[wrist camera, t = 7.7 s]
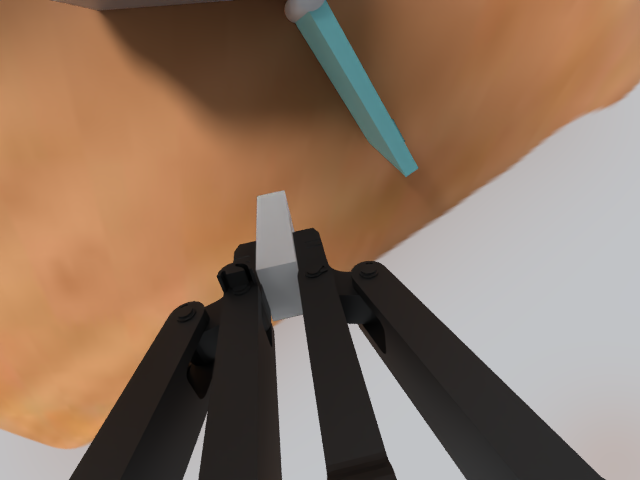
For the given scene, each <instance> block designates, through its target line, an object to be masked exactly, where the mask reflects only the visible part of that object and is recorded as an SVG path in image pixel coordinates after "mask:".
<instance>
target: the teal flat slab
mask: <svg viewBox="0 0 640 480" xmlns="http://www.w3.org/2000/svg"><path fill="white" fill-rule="evenodd" d="M285 15H286V17H287V18H288V20H289V21H291V22H293V23H295V24H296V25H297V27H298V29H299V30H300V32H301V33H302V35H303V37H304V38H305V40H306V42H307V43H308V45H309V46H310V48H311V50H312V51H313V53H314V55H315V56H316V58H317V59H318V61H319V63H320V64H321V66H322V67H323V69H324V71H325V72H326V74H327V76H328V77H329V79H330V80H331V82H332V84H333V85H334V87H335V89H336V90H337V92H338V93H339V95H340V97H341V98H342V100H343V101H344V103H345V105H346V106H347V108H348V110H349V111H350V113H351V114H352V116H353V118H354V119H355V121H356V123H357V124H358V126H359V127H360V129H361V131H362V132H363V134H364V135H365V137H366V139H367V140H368V142H369V143H370V144H371V145H372V146H373V147H374V148H375V149H376V150H377V151H379V152H380V153H381V154H382V155H383V156H384V157H385V158H386V159H387V160H388V161H389V162H390V163H391V164H393V165H394V166H395V167H396V168H397V169H398V170H399V171H400V172H401V173H402V174H403V175H404V176H405V177H407V176H408V175H410V174H411V173H412V172H414V171H415V170H417V169H418V166H417V165H416V163H415V161H414V159H413V157H412V155H411V154H410V152H409V150H408V148H407V146H406V145H405V143H404V142H405V140H404V138H403V137H402V135H401V133H400V131H399V129H398V128H397V126H396V124H395V122H394V120H393V119H391V117H390V116H389V114H388V112H387V110H386V108H385V107H384V105H383V103H382V101H381V99H380V97H379V96H378V94H377V92H376V90H375V88H374V87H373V85H372V83H371V81H370V79H369V78H368V76H367V74H366V72H365V70H364V68H363V67H362V65H361V63H360V61H359V59H358V58H357V56H356V54H355V52H354V50H353V49H352V47H351V45H350V43H349V41H348V39H347V38H346V36H345V34H344V32H343V30H342V29H341V27H340V25H339V23H338V21H337V20H336V18H335V16H334V14H333V12H332V10H331V9H330V7H329V5H328V3H327V1H326V0H287V2H286V4H285Z"/></svg>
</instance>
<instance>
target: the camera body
mask: <svg viewBox="0 0 640 480" xmlns="http://www.w3.org/2000/svg"><path fill="white" fill-rule="evenodd" d="M52 1H57V2H61V3H66V4H70V5H75V6H80V7H84V8H89V9H93V10H98V11H99V10H112V9H125V8H139V7H152V6H165V5H179V4H192V3H205V2H219V1H232V0H52Z"/></svg>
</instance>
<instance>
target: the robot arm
mask: <svg viewBox="0 0 640 480" xmlns="http://www.w3.org/2000/svg"><path fill="white" fill-rule="evenodd" d="M217 278H218V281H219V283H220V285H221V287H222V290H223V292H224V296H223V297H222V298H221V299H220V300H218V301H216V302H214V303H212V304H210V305H208V306H206V307H204V305H203V304H202V303H200V302H195V301H193V302H188V303H185V304H183V305H180V306H179V307H178V308H176V309H175V310H174V311H173V312H172V313H171V314H170V315H169V317H168V319H167V320H166V322H165V324H164V325H163V327H162V328H161V330H160V332H159V333H158V335H157V337H156V338H155V340H154V342H153V343H152V345H151V346H150V348H149V350H148V351H147V353H146V355H145V356H144V358H143V360H142V361H141V363H140V364H139V366H138V368H137V369H136V371H135V373H134V374H133V376H132V378H131V379H130V381H129V382H128V384H127V386H126V387H125V389H124V391H123V392H122V394H121V396H120V397H119V399H118V400H117V402H116V404H115V405H114V407H113V409H112V410H111V412H110V414H109V415H108V417H107V418H106V420H105V422H104V423H103V425H102V427H101V428H100V430H99V432H98V433H97V435H96V436H95V438H94V440H93V441H92V443H91V445H90V446H89V448H88V450H87V451H86V453H85V454H84V456H83V458H82V459H81V461H80V463H79V464H78V466H77V468H76V469H75V471H74V472H73V474H72V476H71V477H70V479H69V480H183V477H184V474H185V472H186V469H187V466H188V463H189V461H190V458H191V455H192V452H193V450H194V447H195V444H196V442H197V438H198V436H199V433H200V431H201V428H202V425H203V422H204V420H205V417H206V414H207V411H208V414H207V422H206V428H205V436H204V443H203V450H202V457H201V465H200V472H199V480H282V473H281V453H280V437H279V436H280V435H279V415H278V398H277V397H278V396H277V377H276V359H275V358H276V357H275V339H274V329H273V326H272V323H271V316H272V319H273V321H277V320H281V319H286V318H290V317H294V316H298V315H303V317H304V324H305V330H306V337H307V343H308V350H309V357H310V363H311V370H312V377H313V382H314V389H315V396H316V402H317V410H318V416H319V423H320V430H321V435H322V443H323V449H324V456H325V463H326V469H327V480H397V479H396V476H395V473H394V470H393V468H392V466H391V464H390V462H389V460H388V457H387V455H386V451H385V448H384V445H383V441H382V438H381V434H380V431H379V428H378V424H377V421H376V418H375V414H374V411H373V408H372V404H371V401H370V398H369V394H368V391H367V388H366V385H365V381H364V378H363V375H362V371H361V368H360V365H359V361H358V358H357V354H356V351H355V348H354V345H353V341H352V338H351V335H350V332H349V328H348V324H347V323H349V324H358V325H359V328H360V329H361V330H362V332H363V333H364V335H365V336H366V337H367V339H368V340H369V342H370V343H371V345H372V346H373V347H374V349H375V350H376V352H377V353H378V355H379V356H380V357H381V359H382V360H383V362H384V363H385V364H386V366H387V367H388V369H389V370H390V371H391V373H392V374H393V376H394V377H395V379H396V380H397V381H398V383H399V384H400V386H401V387H402V389H403V390H404V391H405V393H406V394H407V396H408V397H409V398H410V400H411V401H412V403H413V404H414V406H415V407H416V408H417V410H418V411H419V413H420V414H421V415H422V417H423V418H424V420H425V421H426V423H427V424H428V425H429V427H430V428H431V430H432V431H433V432H434V434H435V435H436V437H437V438H438V440H439V441H440V442H441V444H442V445H443V447H444V448H445V450H446V451H447V452H448V454H449V455H450V457H451V458H452V459H453V461H454V462H455V464H456V465H457V466H458V468H459V469H460V471H461V472H462V474H463V475H464V476H465V478H466V479H467V480H605V479H604V478H602V477H601V476H600V475H599V474H598V473H597V472H596V471H594V469H592V468H591V467H590V466H589V465H588V464H587V463H586V462H585V461H584V460H583V459H582V458H581V457H580V456H579V455H578V454H577V453H576V452H575V451H574V450H573V449H572V448H571V447H570V446H569V445H568V444H567V443H566V442H565V441H563V439H562V438H561V437H560V436H559V435H558V434H556V432H554V431H553V430H552V429H551V428H550V427H549V426H548V425H547V424H546V423H545V422H544V421H543V420H542V419H541V418H540V417H539V416H538V415H537V414H536V413H535V412H534V411H533V410H532V409H531V408H530V407H529V406H528V405H527V404H526V403H525V402H524V401H523V400H522V399H521V398H520V397H519V396H517V395H516V394H515V393H514V392H513V391H512V390H511V389H510V388H509V387H508V386H507V385H506V384H505V383H504V382H503V381H502V380H501V379H500V378H499V377H498V376H497V375H496V374H495V373H494V372H493V371H492V370H491V369H490V368H488V367H487V365H486V364H485V363H484V362H483V361H482V360H480V359H479V358H478V357H477V356H476V355H475V354H474V353H473V352H472V351H471V350H470V349H469V348H468V347H467V346H466V345H465V344H464V343H463V342H462V341H461V340H460V339H459V338H458V337H457V336H456V335H455V334H454V333H453V332H452V331H451V330H450V329H449V328H448V327H447V326H446V325H445V324H443V323H442V322H441V321H440V320H439V319H438V318H437V317H436V316H435V315H434V314H433V313H432V312H431V311H430V310H429V309H428V308H427V307H426V306H425V305H424V304H423V303H422V302H421V301H420V300H419V299H418V298H417V297H416V296H415V295H413V293H412V292H411V291H410V290H409V289H408V288H407V287H405V286H404V285H403V284H402V283H401V282H400V281H399V280H398V279H397V278H396V277H395V276H394V275H393V274H392V273H391V272H390V271H389V270H388V269H387V268H386V267H385V266H384V265H382V264H381V263H379V262H375V261H365V262H361V263H359V264H357V265H355V266H354V268H353V269H352V271H351V272H341V271H337V270H334V269H332V268H331V267H330V266H329V264H328V262H327V259H326V255H325V252H324V249H323V245H322V242H321V239H320V235H319V232H317V231H316V230H315V229H314V228H310V229H305V230H301V231H296V232H294V228H293V224H292V220H291V215H290V211H289V207H288V203H287V199H286V194H285V190H284V191H279V192H274V193H270V194H265V195H260V196H257V230H256V241H254V242H249V243H245V244H240V245H239V246H238V248H237V249H236V250H235V252H234V261H233V263H231V264H228V265H227V266H225V267H223V268H222V269H221V270H220V271H219V272H218V275H217Z"/></svg>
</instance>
